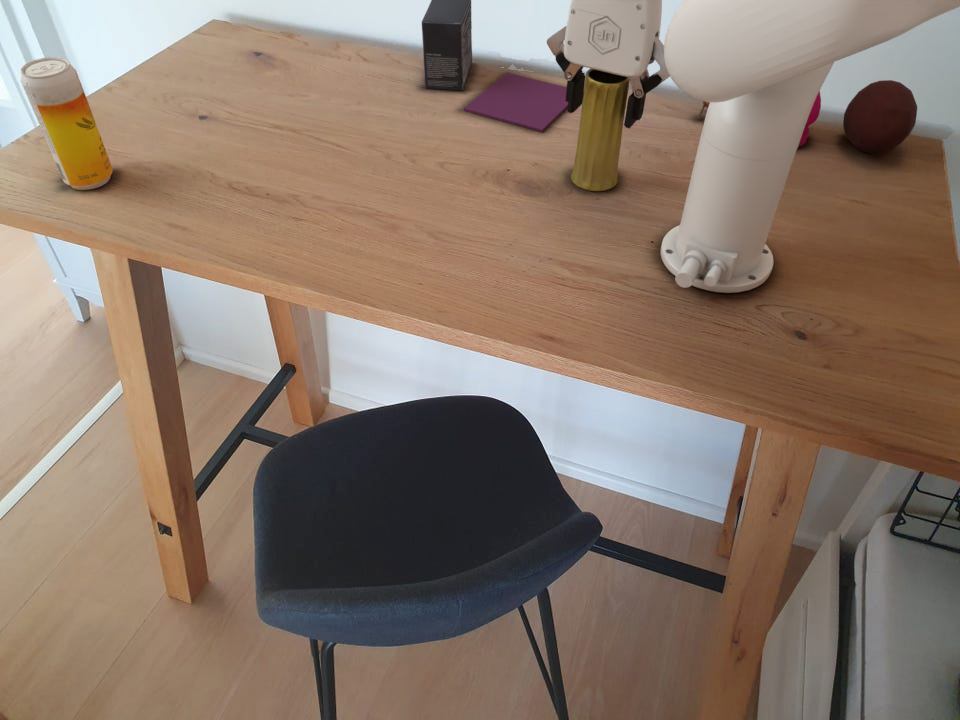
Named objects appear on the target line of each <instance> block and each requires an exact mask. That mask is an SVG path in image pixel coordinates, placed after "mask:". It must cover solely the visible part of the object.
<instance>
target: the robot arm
mask: <svg viewBox="0 0 960 720" xmlns="http://www.w3.org/2000/svg"><path fill="white" fill-rule="evenodd" d="M570 1H571V2H570V6H569V10H568V17H567V22H566V25H565V26H564V27H562V28H561V29H559V30H558V31H556V32H555V33H553V34H552V35H550V37H548V38H547V39H546V45H547V46H548V48H549V50H550V52H551V54H552V55H553V56H554V57H555V62H556V63H557V65H558V66H559V68H560V69H561V71H562V72H563V77H564V80H565V81H566V88H567V90H566V102H568V107H567V108H566V111H567V113H569V114H573V113H575V112H576V111H577V110H578V109H579V108H580V107H582V103H583V97H584V87H585V80H586V73H585V72H583V69H584V68H586V69H595V70H599V71H603V72H607V73H612V74H616V75H620V76H625V77H629V80H630V82H629V84H630V87H631V90H632V92H631V93H630V95H629V96H628V97H627V102H626V108H625V115H624V121H623V127H625V128H626V129H631V128H632V127H633V125H634V124H635V123H636V122H637V121H640V120H641V119H642V118H643V114H644V110H645V103H646V98H647V94H648V93H650V91H652V90H654V89H655V88H657V87H659V86H660V85H661V84H662V83H663V82H665V81H666V80H667V79H669V78H670V79H671V80H672V82H673V83H674V85H676V87H677V88H678V89H679V90H680V91H682V92H683V93H684V94H685V95H687V96H688V97H690V98H693V99H695V100H697V101H701V102H703V101H705V102H710V104H709V107H708V108H707V109H706V114H705V118H704V122H703V125H702V129H701V133H700V137H699V141H698V146H697V150H696V155H695V158H694V163H693V167H692V172H691V176H690V180H689V183H688V189H687V193H686V197H685V201H684V207H683V210H682V214H681V219H680V223H679V225H676V226H675V227H673V228H671V229H670V230H669V231H667V233H666V234H665V235H664V236H663V238H662V242H661V246H660V252H659V253H660V257H661V261H662V263H663V264H664V266H665V267H666V269H667V270H668V271H669V272H670V273H671V274H672V275H673V276H675V277H674V280H675V283H676V284H677V285H678V286H679V287H681V288H684V289H685V288H686V289H688V288H690V287H691V286H692V287H695V288H698V289H701V290H703V291H704V290H705V291H707V292H708V291H709V292H714V293H725V294H730V293H732V294H733V293H741V292H747V291H750V290H752V289H755V288H757V287H760V286H761V285H762V284H764V283H765V282H766V281H767V280H768V278H769V277H770V275H771V273H772V271H773V268H774V267H773V266H774V263H775V262H774V255H773V253H772V250H771V249H770V248H769V246H768V245H767V244H766V242H767V240H768V237H769V234H770V230H771V228H772V225H773V222H774V218H775V215H776V213H777V209H778V206H779V203H780V201H781V199H782V195H783V192H784V189H785V185H786V183H787V180H788V177H789V174H790V171H791V168H792V165H793V161H794V159H795V156H796V153H797V150H798V148H799V147H798V145H799V142H800V139H801V137H802V134H803V131H804V128H805V125H806V122H807V119H808V117H809V114H810V112H811V109H812V106H813V104H814V102H815V99H816V97H817V95H818V93H819V91H820V92H821V89H822V86H823V84H824V82H825V81H826V79H827V77H828V76H829V73H830V71H831V70H832V68H833V66H834V64H835V62H838V61H840V60H843V59H846V58H848V57H850V56H853V55H856V54H858V53H860V52H863V51H865V50H868V49H871V48H874V47H877V46H879V45H881V44H884V43H887V42H888V41H889V42H890V41H892V40H893V39H895V38H898V37H900V36H903V34H904V35H905V33H907V32H910V31H911V30H913V29H915V28H917V27H918V26H920V25H922V24H924V23H926V22H928V21H930V20H932V19H935V18H937V17H939V16H941V15H943V14H946V13H948V12H951V11H953V10H956V9H958V8H960V0H684V1H683V2H681V4H680V5H679V7H677V9H676V11H675V12H674V14H673V16H672V17H671V19H670V22H669V23H668V27H667V29H666V33H665V36H664V37H665V38H664V42H662V41H661V40H660V36H661V26H662V16H663V15H662V13H663V0H570ZM654 62H656V63H657V65H658V66H659V70H657V71H656V72H654V73H653V74H651V75H650V73H649V69H648V67H649V65H652V64H653V63H654Z"/></svg>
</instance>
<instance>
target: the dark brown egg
mask: <svg viewBox="0 0 960 720" xmlns="http://www.w3.org/2000/svg"><path fill="white" fill-rule="evenodd" d="M917 115H918V104H917V102H916V99H915V97H914V93H913V91H912V90H911V89H910V88H908V87H907V86H906V85H905V84H903V83H901V82H900V81H896V80H892V79H887V80H886V79H884V80H877V81H874V82H871V83H869V84H868V85H866V86H865V87H864V88H863V87H862V88H861V89H860V90H859V91H858V92H857V93H856V94H855V95H854V97H853V98H852V99H851V100H850V102H848V104H847V107H846V109H845V110H844V113H843V122H842V125H843V127H842V128H843V131H844V135H845V137H846V138H847V140H849V142H850V143H851V144H852V145H853V146H854V147H855V148H856V149H858V150H859V151H861V152H864V153H867V154H868V153H869V154H885V153H887V152H890V151H892V150H894V149H895V148H897V147H898V146H899V145H900V144H902V143H903V142H904V141H905V140H907V138H908V137H909V136H910V135H911V133H912V131H913V129H914V128H915V125H916V122H917Z"/></svg>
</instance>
